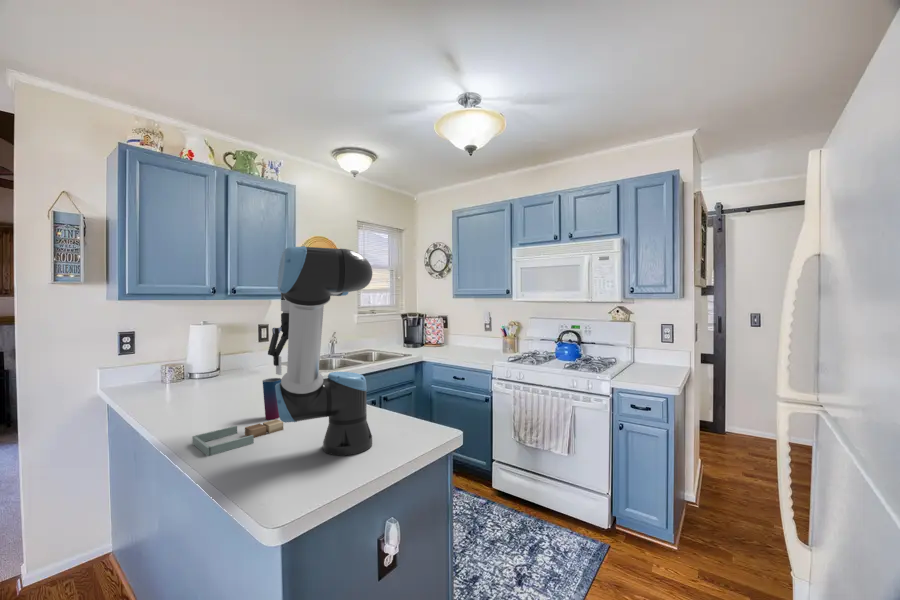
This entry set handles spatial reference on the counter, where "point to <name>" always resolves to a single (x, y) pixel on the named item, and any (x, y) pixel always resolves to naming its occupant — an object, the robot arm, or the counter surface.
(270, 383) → the cup
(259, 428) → the walnut tile
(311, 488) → the counter surface
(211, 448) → the box
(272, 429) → the oak tile
